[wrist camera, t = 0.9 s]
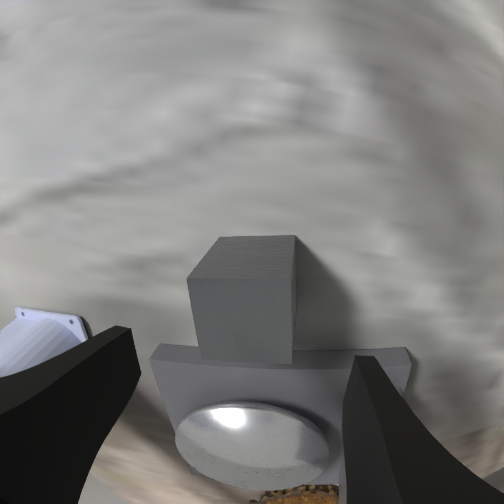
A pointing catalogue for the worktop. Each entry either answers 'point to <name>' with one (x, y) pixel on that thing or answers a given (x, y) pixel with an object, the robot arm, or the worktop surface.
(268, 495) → the decorative rock
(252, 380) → the scale
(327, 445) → the pan
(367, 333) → the worktop surface
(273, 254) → the block
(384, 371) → the robot arm
